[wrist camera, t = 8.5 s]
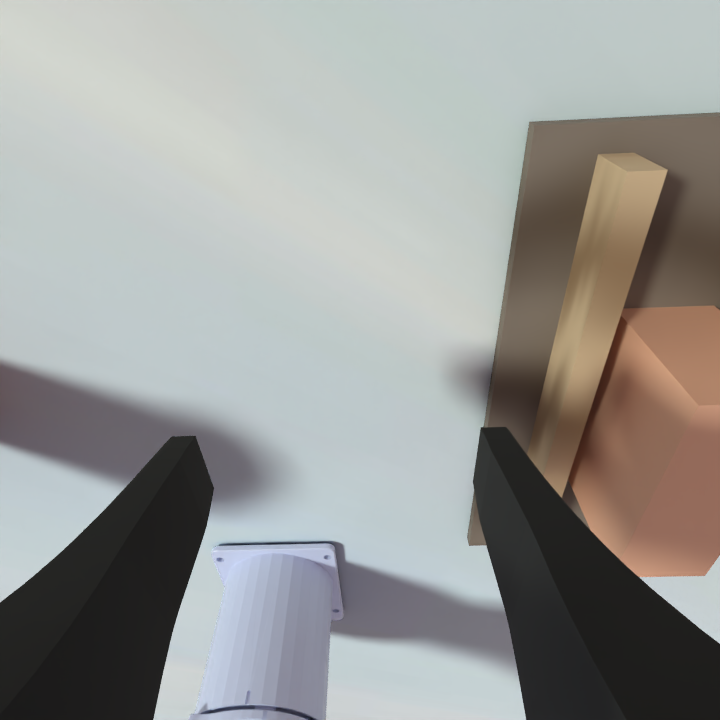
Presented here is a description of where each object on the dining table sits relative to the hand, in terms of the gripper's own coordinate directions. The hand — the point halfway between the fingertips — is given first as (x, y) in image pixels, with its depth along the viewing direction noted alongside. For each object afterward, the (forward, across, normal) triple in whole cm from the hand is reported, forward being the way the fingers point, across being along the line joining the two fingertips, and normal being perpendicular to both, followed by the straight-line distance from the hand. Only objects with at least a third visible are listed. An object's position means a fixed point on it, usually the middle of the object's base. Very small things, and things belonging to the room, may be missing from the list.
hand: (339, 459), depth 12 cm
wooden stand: (+9, -13, +6) cm, 17 cm away
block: (+9, -13, +6) cm, 17 cm away
